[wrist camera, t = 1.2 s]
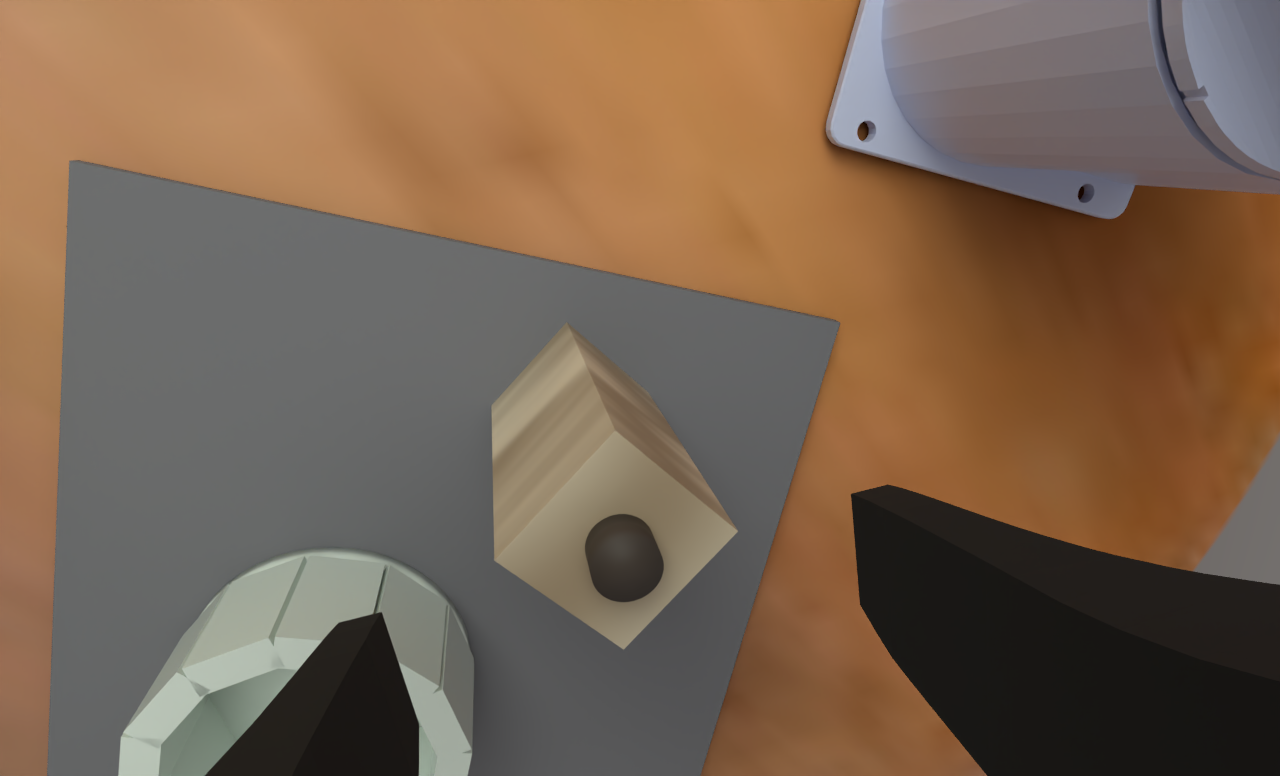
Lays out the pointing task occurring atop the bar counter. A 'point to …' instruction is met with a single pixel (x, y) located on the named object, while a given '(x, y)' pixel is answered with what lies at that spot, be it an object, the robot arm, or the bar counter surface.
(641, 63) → the bar counter surface
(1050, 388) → the bar counter surface
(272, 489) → the mat
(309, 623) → the jar
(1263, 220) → the bar counter surface
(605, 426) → the peg
